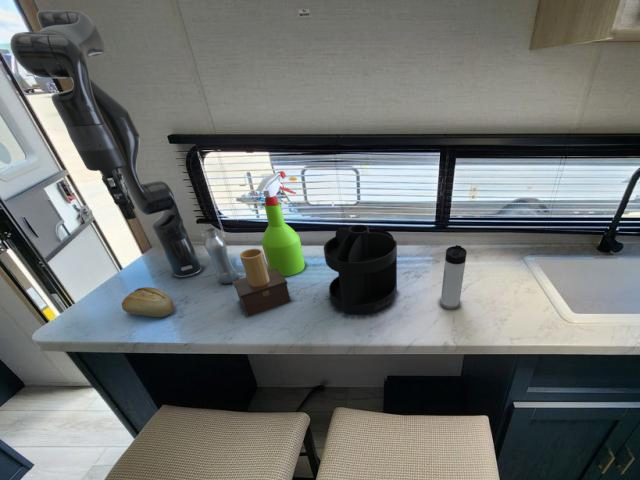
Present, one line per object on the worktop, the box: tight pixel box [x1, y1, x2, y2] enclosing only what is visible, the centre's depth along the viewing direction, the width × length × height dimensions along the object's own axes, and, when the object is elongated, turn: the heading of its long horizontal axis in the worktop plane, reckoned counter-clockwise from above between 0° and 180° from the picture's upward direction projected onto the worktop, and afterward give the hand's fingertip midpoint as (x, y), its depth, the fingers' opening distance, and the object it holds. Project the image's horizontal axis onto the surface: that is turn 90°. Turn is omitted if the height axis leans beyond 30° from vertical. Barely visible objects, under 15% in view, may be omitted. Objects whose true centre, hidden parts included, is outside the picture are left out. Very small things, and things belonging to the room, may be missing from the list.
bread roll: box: [121, 286, 175, 318], centre depth 98 cm, size 10×15×8 cm, turn 86°
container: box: [323, 224, 398, 316], centre depth 101 cm, size 22×23×25 cm
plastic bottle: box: [203, 227, 238, 284], centre depth 110 cm, size 6×7×20 cm
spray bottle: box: [255, 170, 306, 278], centre depth 116 cm, size 14×18×35 cm
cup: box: [239, 248, 270, 287], centre depth 98 cm, size 6×6×10 cm
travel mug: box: [440, 244, 468, 310], centre depth 100 cm, size 6×7×20 cm
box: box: [231, 268, 291, 317], centre depth 103 cm, size 11×14×8 cm
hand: (130, 213), depth 82 cm, fingers open, 8 cm apart
